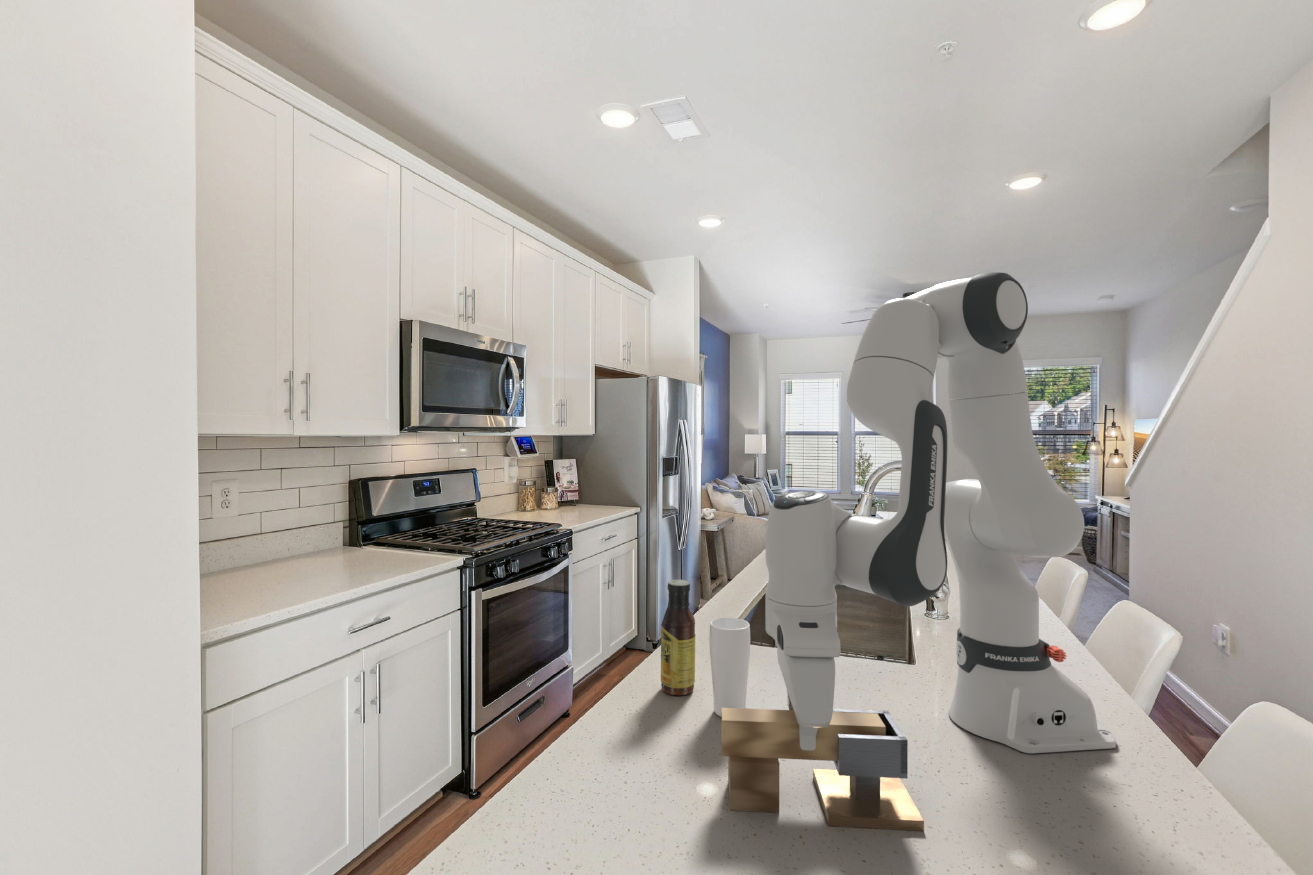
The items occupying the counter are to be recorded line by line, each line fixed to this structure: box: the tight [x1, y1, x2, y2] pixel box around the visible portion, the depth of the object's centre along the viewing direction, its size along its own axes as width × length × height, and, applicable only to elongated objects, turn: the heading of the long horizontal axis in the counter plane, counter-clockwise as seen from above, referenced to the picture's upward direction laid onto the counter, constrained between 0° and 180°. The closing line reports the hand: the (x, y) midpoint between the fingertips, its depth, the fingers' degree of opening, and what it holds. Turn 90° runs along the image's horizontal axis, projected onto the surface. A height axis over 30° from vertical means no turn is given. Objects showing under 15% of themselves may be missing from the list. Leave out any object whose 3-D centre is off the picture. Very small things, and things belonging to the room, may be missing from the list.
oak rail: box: [721, 708, 886, 762], centre depth 76 cm, size 20×4×4 cm, turn 85°
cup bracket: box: [812, 708, 925, 832], centre depth 75 cm, size 11×10×10 cm
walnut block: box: [727, 756, 780, 814], centre depth 76 cm, size 6×6×6 cm
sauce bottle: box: [660, 579, 696, 696], centre depth 108 cm, size 7×6×20 cm
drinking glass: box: [708, 617, 751, 718], centre depth 99 cm, size 7×7×15 cm
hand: (800, 727), depth 76 cm, fingers open, 8 cm apart
